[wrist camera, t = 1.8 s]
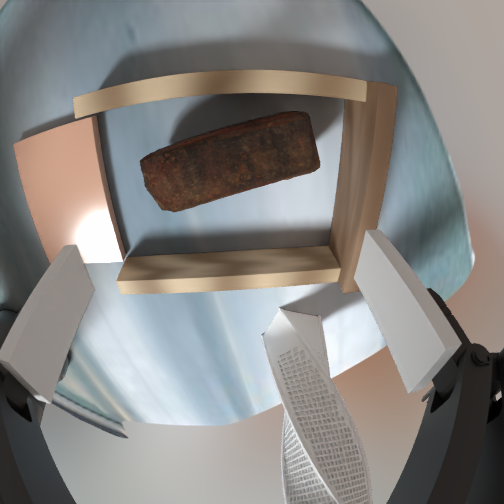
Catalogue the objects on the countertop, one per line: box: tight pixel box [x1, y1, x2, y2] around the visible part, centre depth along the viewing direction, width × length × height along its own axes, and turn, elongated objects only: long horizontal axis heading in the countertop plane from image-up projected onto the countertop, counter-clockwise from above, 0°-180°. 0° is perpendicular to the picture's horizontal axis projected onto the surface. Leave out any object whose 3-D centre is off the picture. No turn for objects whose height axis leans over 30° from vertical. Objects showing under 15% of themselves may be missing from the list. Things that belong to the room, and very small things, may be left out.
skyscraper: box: [261, 308, 372, 504], centre depth 20 cm, size 8×8×28 cm
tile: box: [13, 115, 126, 264], centre depth 19 cm, size 9×13×1 cm
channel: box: [73, 70, 398, 294], centre depth 19 cm, size 20×16×5 cm
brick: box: [140, 111, 320, 212], centre depth 17 cm, size 11×4×5 cm, turn 104°
